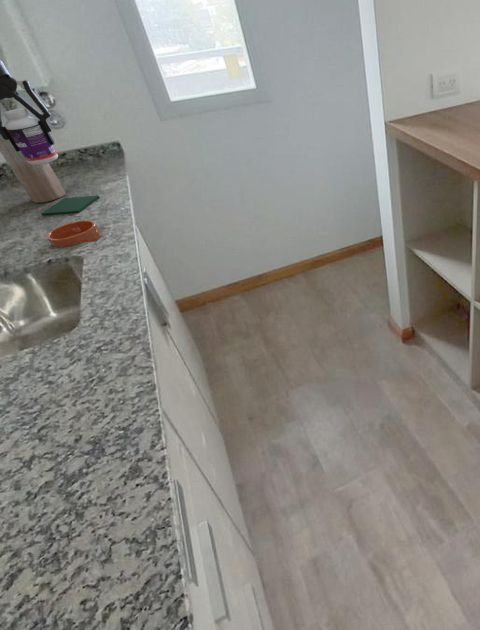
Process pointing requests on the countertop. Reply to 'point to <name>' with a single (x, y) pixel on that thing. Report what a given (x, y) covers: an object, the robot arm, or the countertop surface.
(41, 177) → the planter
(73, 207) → the mat
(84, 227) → the bowl
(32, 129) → the pill bottle
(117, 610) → the countertop surface
